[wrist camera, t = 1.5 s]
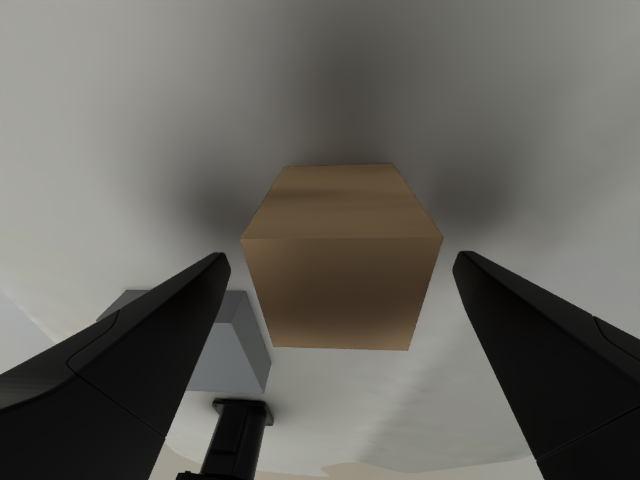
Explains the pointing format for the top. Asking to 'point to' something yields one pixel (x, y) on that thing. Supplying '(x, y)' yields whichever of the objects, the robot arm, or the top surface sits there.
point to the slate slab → (225, 348)
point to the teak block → (341, 257)
